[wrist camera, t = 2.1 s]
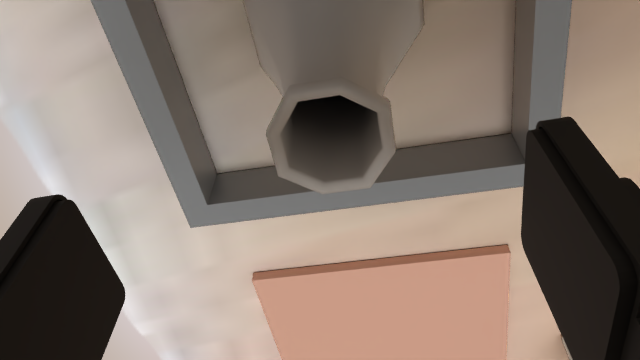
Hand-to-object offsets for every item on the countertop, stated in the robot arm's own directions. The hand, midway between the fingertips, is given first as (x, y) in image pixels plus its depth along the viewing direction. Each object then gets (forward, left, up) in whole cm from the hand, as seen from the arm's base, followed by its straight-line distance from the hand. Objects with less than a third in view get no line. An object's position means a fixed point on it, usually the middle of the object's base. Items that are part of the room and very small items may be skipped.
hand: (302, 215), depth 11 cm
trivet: (-1, +21, -12) cm, 24 cm away
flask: (-1, 0, -13) cm, 13 cm away
